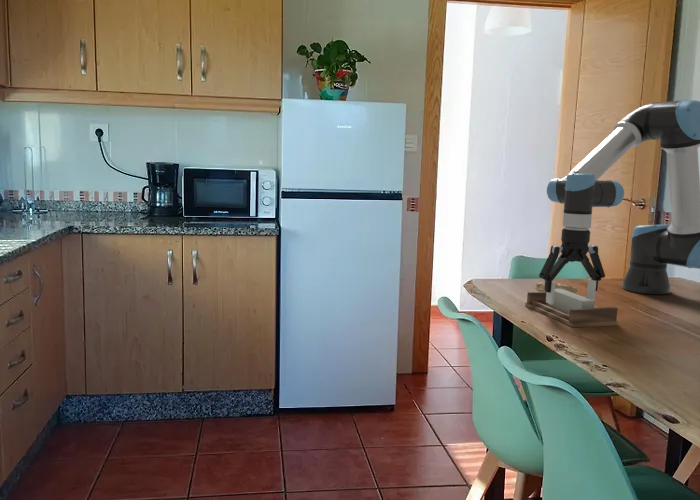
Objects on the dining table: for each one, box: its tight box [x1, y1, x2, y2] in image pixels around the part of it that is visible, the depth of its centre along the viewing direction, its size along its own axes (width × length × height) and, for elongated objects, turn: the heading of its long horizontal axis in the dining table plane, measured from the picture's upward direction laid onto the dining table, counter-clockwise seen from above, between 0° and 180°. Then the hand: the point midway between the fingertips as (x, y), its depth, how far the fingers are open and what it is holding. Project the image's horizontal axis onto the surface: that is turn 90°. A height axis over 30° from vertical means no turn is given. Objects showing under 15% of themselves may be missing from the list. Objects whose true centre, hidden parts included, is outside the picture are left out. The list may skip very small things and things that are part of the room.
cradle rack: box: [524, 291, 619, 328], centre depth 176 cm, size 24×14×4 cm, turn 15°
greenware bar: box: [548, 289, 596, 314], centre depth 176 cm, size 4×16×5 cm, turn 15°
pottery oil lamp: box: [535, 280, 578, 294], centre depth 199 cm, size 9×12×7 cm
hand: (570, 302), depth 176 cm, fingers open, 13 cm apart
